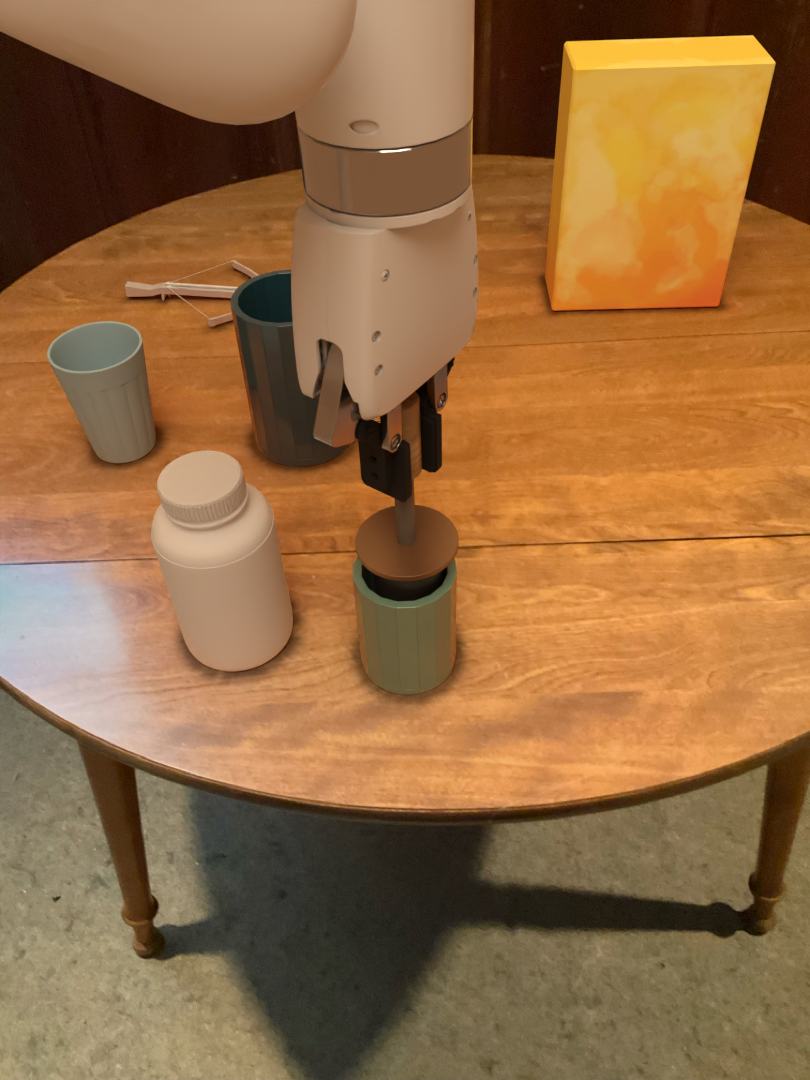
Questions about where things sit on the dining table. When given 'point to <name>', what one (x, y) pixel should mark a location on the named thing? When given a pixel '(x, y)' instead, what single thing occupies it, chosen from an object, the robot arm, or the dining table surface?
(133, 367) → the cup
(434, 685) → the holder
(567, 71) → the mottled yellow carton
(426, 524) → the brush
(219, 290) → the crossbow
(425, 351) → the robot arm
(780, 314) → the dining table surface
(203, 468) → the pill bottle
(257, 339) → the teal tumbler
